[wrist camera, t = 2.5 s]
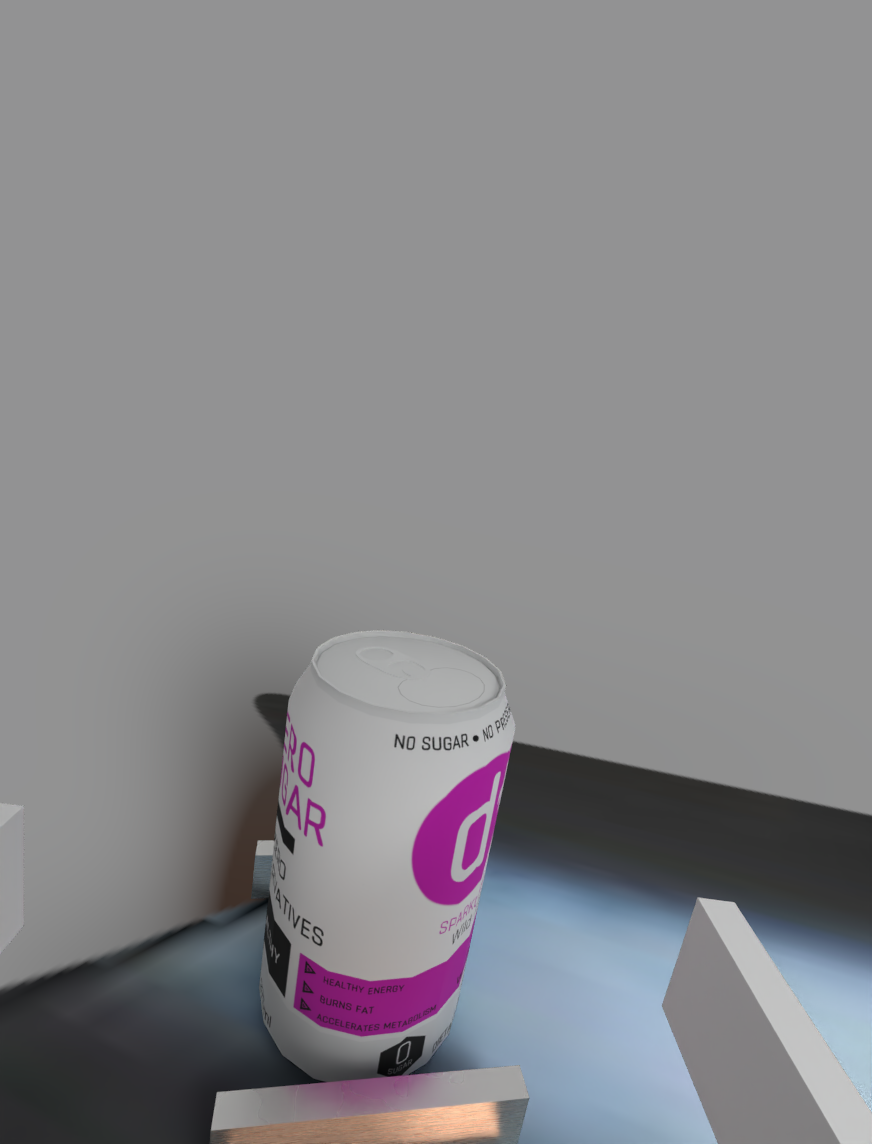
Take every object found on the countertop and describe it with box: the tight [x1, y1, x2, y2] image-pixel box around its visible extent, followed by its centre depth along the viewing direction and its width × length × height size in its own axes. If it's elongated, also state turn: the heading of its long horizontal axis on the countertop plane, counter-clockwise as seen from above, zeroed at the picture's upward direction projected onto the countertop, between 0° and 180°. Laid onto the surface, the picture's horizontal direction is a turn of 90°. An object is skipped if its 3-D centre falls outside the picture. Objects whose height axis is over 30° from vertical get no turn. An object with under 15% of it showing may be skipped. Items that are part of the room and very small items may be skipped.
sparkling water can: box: [259, 630, 516, 1082], centre depth 22 cm, size 8×8×15 cm
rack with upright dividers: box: [210, 841, 529, 1144], centre depth 19 cm, size 10×23×2 cm, turn 11°
